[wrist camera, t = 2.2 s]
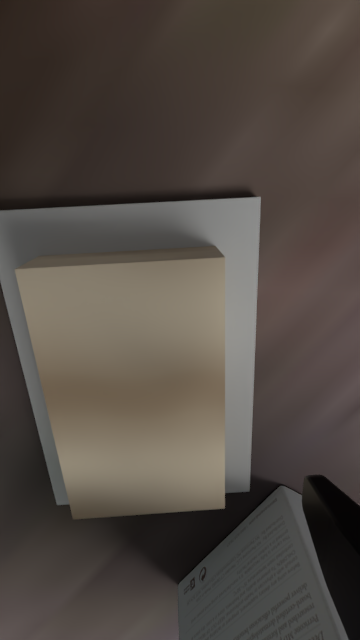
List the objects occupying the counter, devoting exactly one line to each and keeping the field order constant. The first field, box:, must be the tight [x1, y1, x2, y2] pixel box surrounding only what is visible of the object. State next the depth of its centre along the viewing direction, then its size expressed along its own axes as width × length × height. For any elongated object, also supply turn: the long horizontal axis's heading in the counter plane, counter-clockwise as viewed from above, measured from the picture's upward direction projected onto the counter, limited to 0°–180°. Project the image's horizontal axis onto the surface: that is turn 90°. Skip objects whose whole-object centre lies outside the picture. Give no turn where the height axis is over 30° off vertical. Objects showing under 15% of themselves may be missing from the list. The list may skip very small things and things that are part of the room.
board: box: [15, 246, 225, 519], centre depth 12 cm, size 10×6×2 cm, turn 3°
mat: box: [0, 197, 261, 505], centre depth 14 cm, size 13×9×1 cm
